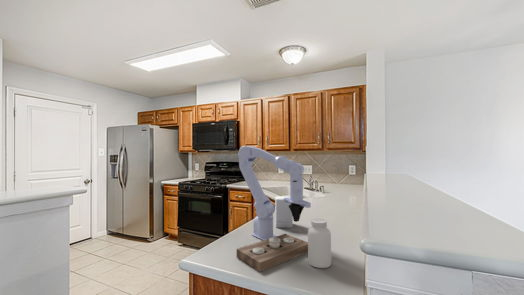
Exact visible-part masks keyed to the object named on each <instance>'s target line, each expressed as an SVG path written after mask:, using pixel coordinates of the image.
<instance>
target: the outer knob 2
mask: <svg viewBox="0 0 524 295" xmlns="http://www.w3.org/2000/svg"><path fill="white" fill-rule="evenodd" d="M283 242H284V243H287V244H292V243H294V239H292V238H285V239H284V240H283Z"/></svg>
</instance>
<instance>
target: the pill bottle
mask: <svg viewBox="0 0 524 295" xmlns="http://www.w3.org/2000/svg"><path fill="white" fill-rule="evenodd" d="M310 222H311V223H310V224H311V227H309V228H308V230H307V242H308V252H307V256H308V257H307V260H308V261H307V262H308V264H309V265H310V266H312V267H315V268H317V269H328V268H329V267H331V265H332V233H331V230H330V229H329V228H328V227H327V226H328V224H327V220H325V219H322V218H313V219H312V220H310Z"/></svg>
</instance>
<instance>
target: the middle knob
mask: <svg viewBox="0 0 524 295" xmlns="http://www.w3.org/2000/svg"><path fill="white" fill-rule="evenodd" d="M269 247H270V248H272V249H274V250H275V249H278V248H280V239H279V238H276V237H273V238H269Z"/></svg>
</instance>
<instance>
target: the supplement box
mask: <svg viewBox="0 0 524 295" xmlns="http://www.w3.org/2000/svg"><path fill="white" fill-rule="evenodd" d="M284 198H290V196H280V195H279V196H275V201H274V202H275V203H274V206H275V211H274V213H275V214H274V215H275V216H274V218H275V219H274V223H275V227H276V228H279V229H280V228H283V229H284V228H286V229H287V228H289V229H292V228H293V223H294V220H293V216H292V212H291V210H290V208H289V205H290V204H291V203H287V202H284Z"/></svg>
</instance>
